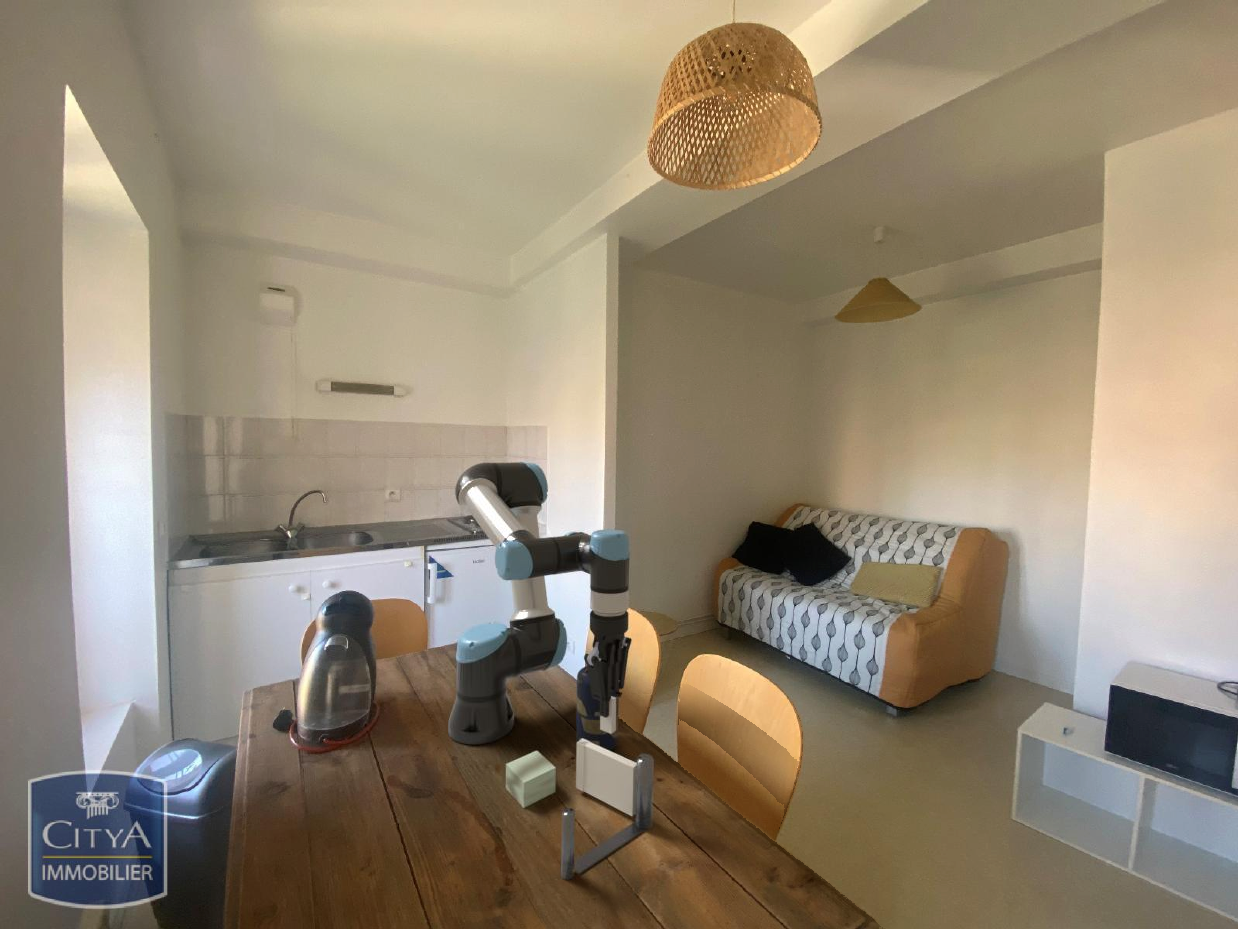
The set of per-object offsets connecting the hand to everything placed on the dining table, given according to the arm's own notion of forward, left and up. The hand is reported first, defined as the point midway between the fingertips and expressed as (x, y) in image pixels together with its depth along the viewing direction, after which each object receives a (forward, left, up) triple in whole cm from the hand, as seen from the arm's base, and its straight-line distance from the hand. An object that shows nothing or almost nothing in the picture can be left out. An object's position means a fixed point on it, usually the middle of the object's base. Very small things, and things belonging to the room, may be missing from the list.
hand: (607, 730), depth 98 cm
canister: (-13, +8, -12) cm, 19 cm away
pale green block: (-9, -12, -12) cm, 19 cm away
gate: (+3, -3, -11) cm, 12 cm away
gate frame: (+11, -8, -12) cm, 18 cm away
